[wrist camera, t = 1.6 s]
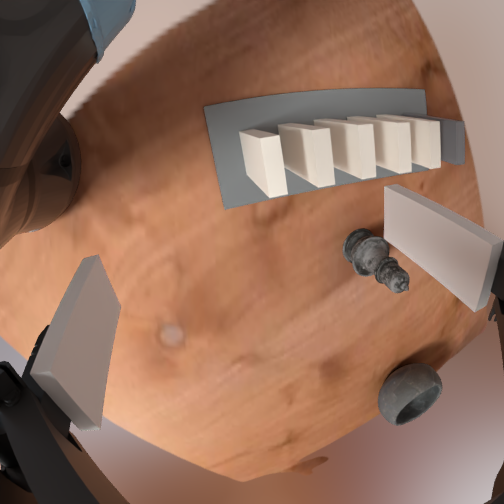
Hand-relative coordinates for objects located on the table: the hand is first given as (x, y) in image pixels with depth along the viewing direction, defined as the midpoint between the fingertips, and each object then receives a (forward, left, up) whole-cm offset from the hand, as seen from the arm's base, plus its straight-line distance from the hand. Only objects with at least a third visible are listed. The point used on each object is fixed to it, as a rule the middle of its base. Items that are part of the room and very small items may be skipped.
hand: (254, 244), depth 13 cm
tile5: (+12, +18, -22) cm, 31 cm away
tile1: (+2, +4, -22) cm, 23 cm away
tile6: (+15, +22, -22) cm, 34 cm away
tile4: (+10, +15, -22) cm, 28 cm away
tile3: (+7, +11, -22) cm, 26 cm away
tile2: (+5, +7, -22) cm, 24 cm away
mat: (+9, +13, -23) cm, 27 cm away
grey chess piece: (+23, +6, -23) cm, 32 cm away
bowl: (+60, -5, -23) cm, 64 cm away
